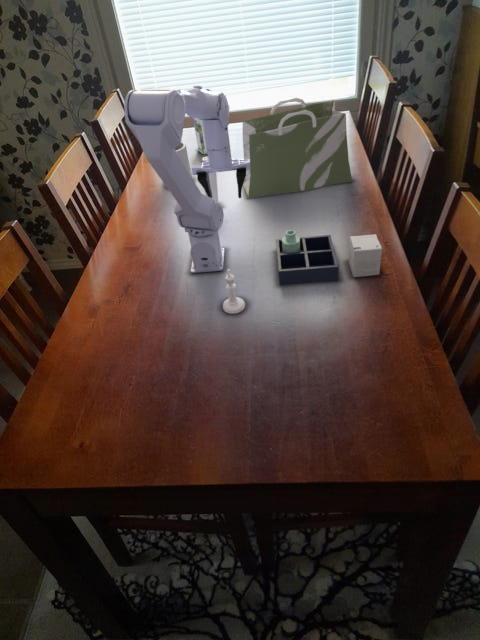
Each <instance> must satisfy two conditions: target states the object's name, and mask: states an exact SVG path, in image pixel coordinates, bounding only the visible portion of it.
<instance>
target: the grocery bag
mask: <svg viewBox="0 0 480 640" xmlns="http://www.w3.org/2000/svg"><path fill="white" fill-rule="evenodd" d="M293 102H296V103H300V104H301V107H297V108H293V109H290V110H286V111H282V112H277V113H275V111H276V110H277V108H279V107H280V106H282V105H285V104H288V103H293ZM347 131H348V130H347V113H345V112H341V111H337V110H336V100H330V101H324V102H323V101H322V102H319V103H313V104H309V105H307V103H306V102H305V101H304V99H302V98H299V97H293V98H290V99H287V100H281V101H279V102H277V103H276V104H274V105H273V106H272V108H271V110H270V112H269V115H264V116H260V117H259V116H258V117H256V118H255V117H254V118H250V119H246V120H242V148H243V160H246V159H250V170H246V177H245V179H244V182H243V188H244V189H245V193H246V196H247V198H248V199H251V198H258V197H265V196H272V195H279V194H288V193H289V194H290V193H297V192H304V191H308V190H312V189H313V190H314V189H316V188H320V187H325V186H330V185H337V184H344V183H345V184H346V183H352V182H353V177H352V173H351V166H350V165H351V164H350V160H349V159H350V158H349V146H348V145H349V144H348V132H347Z"/></svg>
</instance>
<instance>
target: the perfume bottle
mask: <svg viewBox="0 0 480 640" xmlns="http://www.w3.org/2000/svg"><path fill="white" fill-rule="evenodd" d="M201 160H202V163H205V162H209V160H208V156H204V157H202V159H201ZM209 181H210V187H211V191H212V199H214V200H215V202H216V203H219V193H218V179H217V172H211V173H209ZM204 195H206V196H208V195H207V193H206V191H205V190H204Z"/></svg>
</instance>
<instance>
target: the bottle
mask: <svg viewBox="0 0 480 640" xmlns="http://www.w3.org/2000/svg"><path fill="white" fill-rule="evenodd" d="M296 233H297V232H296V231H295V230H293V229H288V230H286V231H285V236H283V237H282V238H281V239H282V250H283V253H294V252H300V238H299V237H300V236H298V235H296Z"/></svg>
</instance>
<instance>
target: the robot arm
mask: <svg viewBox="0 0 480 640" xmlns="http://www.w3.org/2000/svg"><path fill="white" fill-rule="evenodd" d="M123 106H124V108H123V110H124V123H125V124H126V126H127V127H128V128H129V130H130V132H131V133H132V134H133V136H134V137H135V138H136V140H137V141H138V143H139V144H140V146H141V149H142V151H143V154H144V156H145V159H146V160H147V162H148V163H149V164H150V166H151V167H152V169H153V170H154V172H155V173H156V174H157V176H158V177H159V179H160V180H161V181H162V183H163V184H164V186H165V185H166V186H165V188H167V190H168V191H169V193H170V195H172V197H173V199H174V200H175V201H176V202H175V206H174V215H175V216H176V220H177V222H178V225H179V226H180V227H181V228H183V229H184V232H185V233H188V238H189V243H190V256H191V267H190V273H192V274H196V273H197V274H198V273H207V272H209V273H210V272H221V271H224V264H225V263H224V262H225V248H224V247H222V246H221V240H220V233H219V230H220V229H221V227H222V226H223V223H224V215H225V214H224V208H223V207H222V205H221V204H220V202H218V203H216V202H215V200H214V199H212V191H211V187H210V181H209V173H211V172H216V173H221V172H231V171H236V172H235V176H236V177H235V178H236V182H237V197H238V199H242V190H243V187H244V184H243V182H244V179H245V177H246V170H250V159H246V160H244V159H241V158H239V159H238V158H232V152H231V151H232V150H231V143H230V135H229V127H228V126H229V125H230V107H231V106H230V101H229V97H228V96H227V95H226V94H224V92H212V89H211V88H204V89H203V86H202V85H193V86H192V87H191V88H189V89H188V90H186V91H185V90H182V89H181V88H175V87H173V88H149V89H148V88H147V89H140V90H137V89H131V90H129V91H128V92H127V94H126V96H125V98H124V104H123ZM186 116H188V117H190V118H192V119H193V118H198V119H199V120H202V122H203V129H204V135H205V141H206V147H207V154H206V155H207V157H208V160H209V162H205V163H203V162H200V163H197V164H192V165H191V175H192V177H191V175H190V174H189V172H188V171H187V169H186V167H185V166H184V164H183V162H182V161H181V159H180V157H179V156H178V154H177V152H176V151H175V149H174V148H176V147H177V146H178V145H180V144H181V142H182V138H183V133H184V124H185V119H186ZM193 176H196V180H197V182H198V183H199V184H200V185H201V187H202V188H203V190H204V192H205V191H206V193H207V195H208V196H206V194H203V193H202V192H201V191H200V189H199V187H198V185H197V184H196V182H195V180H194V179H193Z"/></svg>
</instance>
